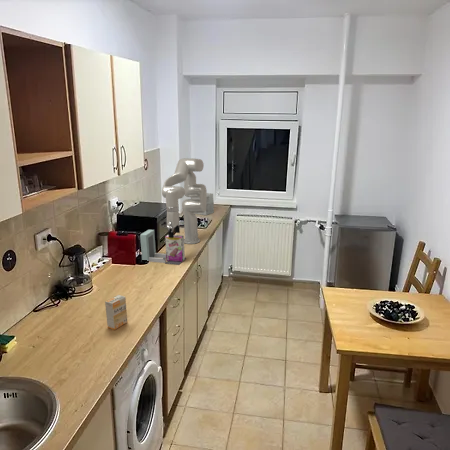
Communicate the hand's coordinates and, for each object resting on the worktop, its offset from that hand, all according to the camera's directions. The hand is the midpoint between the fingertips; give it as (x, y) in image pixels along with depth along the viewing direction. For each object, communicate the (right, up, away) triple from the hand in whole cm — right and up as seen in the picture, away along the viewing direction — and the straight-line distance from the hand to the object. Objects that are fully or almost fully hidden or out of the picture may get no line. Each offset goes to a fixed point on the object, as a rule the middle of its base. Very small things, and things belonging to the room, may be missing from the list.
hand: (174, 235), depth 260 cm
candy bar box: (0, -16, +4) cm, 17 cm away
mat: (0, -17, +4) cm, 17 cm away
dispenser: (-12, -16, +8) cm, 21 cm away
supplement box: (-17, -39, -73) cm, 85 cm away
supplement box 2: (+11, +18, +124) cm, 126 cm away
